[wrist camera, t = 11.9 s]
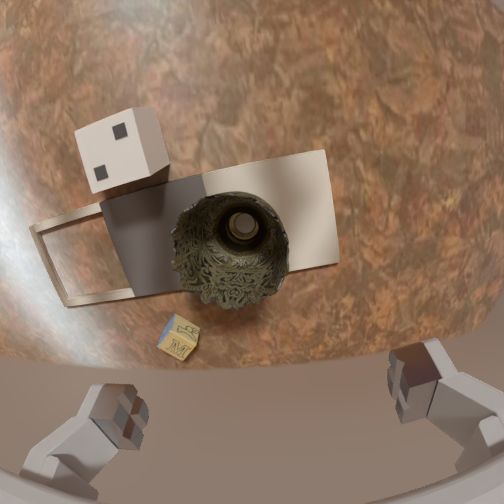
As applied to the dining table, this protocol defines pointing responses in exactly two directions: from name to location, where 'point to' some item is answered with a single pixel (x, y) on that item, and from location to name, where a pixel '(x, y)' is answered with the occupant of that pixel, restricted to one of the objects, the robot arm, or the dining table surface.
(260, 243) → the cup
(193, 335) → the alphabet block
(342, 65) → the dining table surface
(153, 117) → the die
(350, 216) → the dining table surface
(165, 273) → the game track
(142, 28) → the dining table surface
